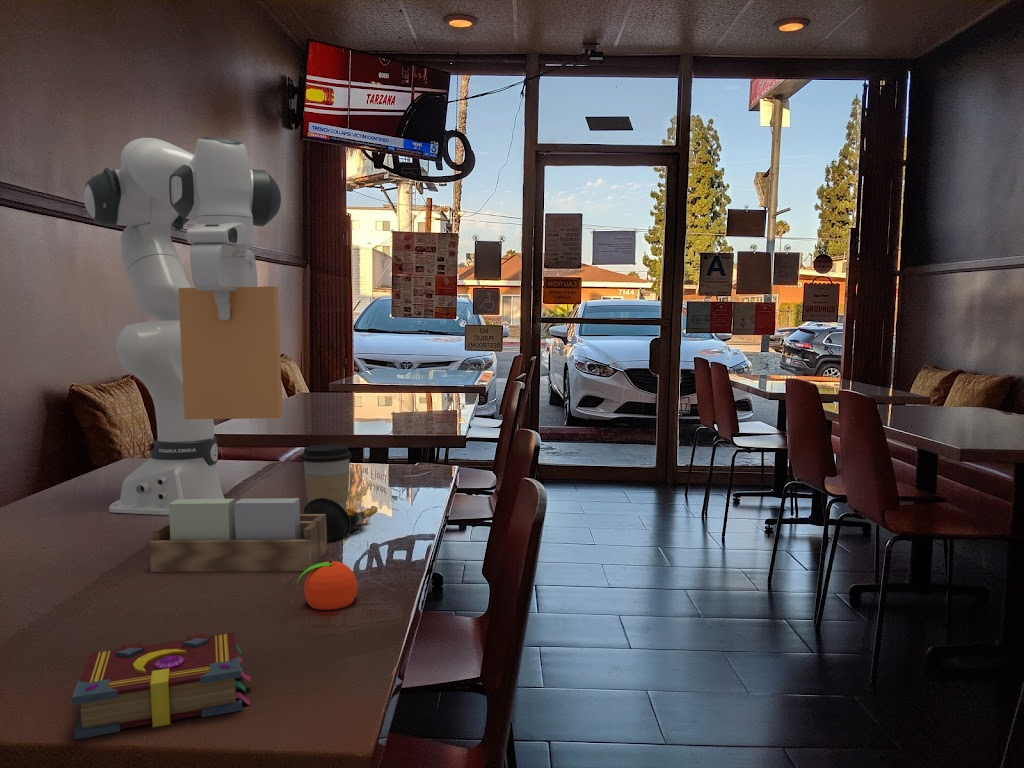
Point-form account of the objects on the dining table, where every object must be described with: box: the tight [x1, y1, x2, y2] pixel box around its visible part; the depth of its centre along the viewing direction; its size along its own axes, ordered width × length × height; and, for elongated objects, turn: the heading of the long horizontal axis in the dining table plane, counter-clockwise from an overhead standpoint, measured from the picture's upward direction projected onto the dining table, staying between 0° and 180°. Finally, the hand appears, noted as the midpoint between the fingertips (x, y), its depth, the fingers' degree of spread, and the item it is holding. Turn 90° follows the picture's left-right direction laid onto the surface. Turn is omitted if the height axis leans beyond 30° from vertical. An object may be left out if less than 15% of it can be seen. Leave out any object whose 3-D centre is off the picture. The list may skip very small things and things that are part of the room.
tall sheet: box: [178, 286, 284, 420], centre depth 136 cm, size 16×2×22 cm, turn 89°
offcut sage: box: [168, 498, 236, 540], centre depth 124 cm, size 9×3×10 cm, turn 89°
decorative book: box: [71, 632, 252, 740], centre depth 84 cm, size 11×16×5 cm
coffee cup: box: [299, 443, 353, 508], centre depth 152 cm, size 9×9×15 cm
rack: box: [149, 513, 328, 573], centre depth 126 cm, size 24×10×8 cm, turn 89°
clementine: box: [296, 560, 358, 616], centre depth 107 cm, size 8×7×7 cm
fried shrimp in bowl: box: [302, 498, 378, 543], centre depth 144 cm, size 9×11×18 cm
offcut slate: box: [234, 497, 301, 540], centre depth 124 cm, size 9×3×10 cm, turn 89°
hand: (229, 319), depth 136 cm, fingers closed on tall sheet, 2 cm apart
